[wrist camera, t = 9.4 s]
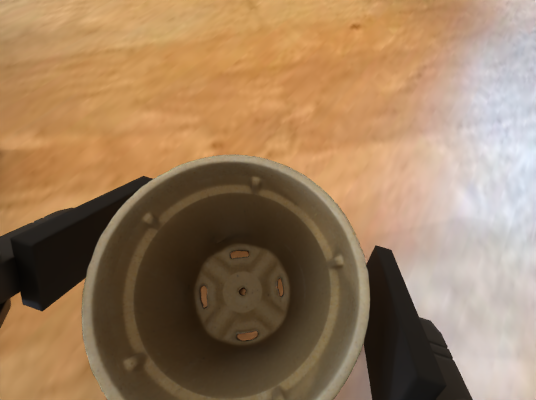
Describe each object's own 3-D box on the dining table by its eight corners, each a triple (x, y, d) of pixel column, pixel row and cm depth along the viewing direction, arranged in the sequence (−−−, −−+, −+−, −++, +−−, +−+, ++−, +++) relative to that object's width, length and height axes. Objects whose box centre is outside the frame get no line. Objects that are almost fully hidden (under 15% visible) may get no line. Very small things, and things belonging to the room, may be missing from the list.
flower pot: (269, 195, 19) (274, 117, 11) (349, 318, 17) (432, 328, 9) (144, 264, 18) (45, 228, 9) (210, 417, 15) (148, 551, 7)
